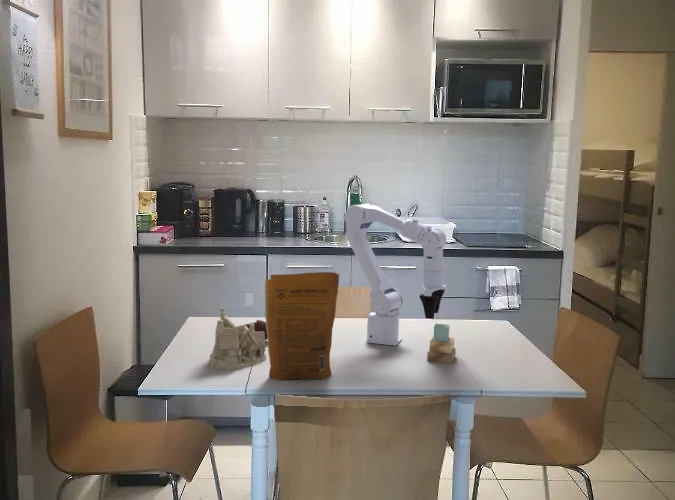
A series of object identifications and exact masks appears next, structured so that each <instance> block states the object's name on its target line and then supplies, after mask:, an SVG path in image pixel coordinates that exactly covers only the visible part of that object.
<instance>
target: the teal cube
mask: <svg viewBox="0 0 675 500" xmlns="http://www.w3.org/2000/svg"><path fill="white" fill-rule="evenodd" d="M433 336H434V340H433V341H443V342H448V340H449V337H450V324H441V323H435V324H434V326H433Z"/></svg>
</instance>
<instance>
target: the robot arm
mask: <svg viewBox="0 0 675 500" xmlns="http://www.w3.org/2000/svg"><path fill="white" fill-rule="evenodd" d="M343 220H344V221H345V225H346V227H345V228H346V229H345V230H346V239H347V241H348V243H349V245H350V247H351V249H352V251H353V253H354V256H355V257H356V259H357V261H358V263H359V265H360V267H361V269H362V271H363V273H364V275H365V278H366V279H367V282H368V283H369V285H370V288H371V289H370V294H369V297H370V298H371V304H372V305H371V306H372V308H373V310H374V312H373V311H372V312H370V313H369V314H368V317H367V329H366V333H367V335H366V341H365V342H366V343H367V344H368V343H369V344H377V345H379V344H380V345H387V346H397V345H398V344H399V343H400V342H401V341H402V337H399V329H400V328H399V327H400V321H399V320H400V309H401V307H403V304H404V298H403V294H401V292H400V291H398V290H397V289H396V287H395V286H394V284H393V283H391V282H390V281H389V280H387V277H386V275H385V272H384V271H383V269H382V267H381V265H380V263H379V261H378V258H377V257H376V255H375V253H374V251H373V249H372V247H371V245H370V242H369V241H368V239H367V237H366V236H367V233H368V230H369V229H370V227H371V226H372V224H373V223H374V222H378V223H380V224H383V225H385V226H388V227H391V228H393V229H395V230H398V231H400V234H401V237H403V238H406V239H408V240H409V241H412V242H414V243H416V244H418V245H421V246H420V247H421V248H422V249H423V259H422V260H423V262H422V263H423V271H422V286H421V288H422V289H423V290H424V291H423V292H424V293H420V294H419V296H418V297H419V299H420V301H421V304H422V307H423V311H424V316H425V319H431V320H433V319H434V316H435V314H438V313H439V310H440V305H441V300H442V298H443V295H444V294H445V292H446V289H447V285H444V284H443V276H444V275H443V271H444V270H443V269H444V247H445V244H446V243H447V237H446V234H445V232H443V231H442V230H441V229H439V228H435V229H433V228H432V226H431V225H425V224H422V223H421V222H419V219H416V218H413V219H412V218H410V219H409V218H408V219H407V220H404V219H402V218H401V217H398V216H396V215H395V214H392V213H391V212H389V211H386V210H384V209H383V208H381V207H379V206H377V205H373V203H369V202H368V203H363V204H352V205H349V206H348V207H347V208H346V211H345V213H344V216H343Z"/></svg>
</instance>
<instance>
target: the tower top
mask: <svg viewBox="0 0 675 500" xmlns="http://www.w3.org/2000/svg"><path fill="white" fill-rule="evenodd" d="M433 340H434V335H433V336H432V338H431V339H430V340H429V349H430V350H429V349H428V350H429V351H432V352H441V353H450V354H451V352H452V350H453V349H454V348H455V337H450V336H449V340H448V342H443V341H433Z"/></svg>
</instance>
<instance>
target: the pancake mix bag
mask: <svg viewBox="0 0 675 500" xmlns="http://www.w3.org/2000/svg"><path fill="white" fill-rule="evenodd" d="M339 283H340V274H338V273H336V272H333V271H332V272H331V271H328V272H327V271H322V272H321V271H320V272H318V271H317V272H304V273H294V274H293V273H292V274H289V273H287V274H270V278H265V282H264V316H265V317H264V318H265V322H266V329H267V338H268V339H267V347H268V348H267V349H268V357H269V363H270V364H269V366H270V367H269V373H268V377H269V378H271V377H272V379H274V378H276V379H275V380H277V379H280V380H279V381H292V380H293V381H294V380H295V381H296V380H299V381H300V380H324V379H327V378H329V377H331V376H332V375H333V374H332V369H331V363H330V362H331V361H330V359H331V358H330V356H331V349H332V342H333V341H332V339H333V328H334V322H335V317H336V312H337V311H336V309H337V300H338V294H339Z"/></svg>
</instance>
